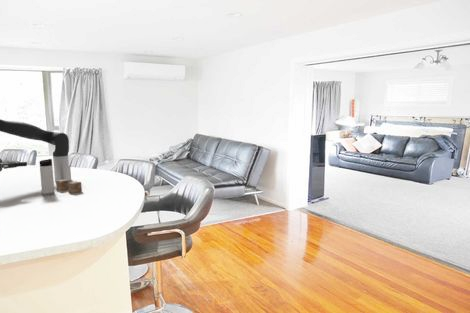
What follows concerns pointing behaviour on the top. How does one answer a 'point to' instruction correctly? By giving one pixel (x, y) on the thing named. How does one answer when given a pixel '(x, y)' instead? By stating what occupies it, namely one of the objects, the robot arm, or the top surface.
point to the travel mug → (47, 177)
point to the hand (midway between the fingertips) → (26, 164)
